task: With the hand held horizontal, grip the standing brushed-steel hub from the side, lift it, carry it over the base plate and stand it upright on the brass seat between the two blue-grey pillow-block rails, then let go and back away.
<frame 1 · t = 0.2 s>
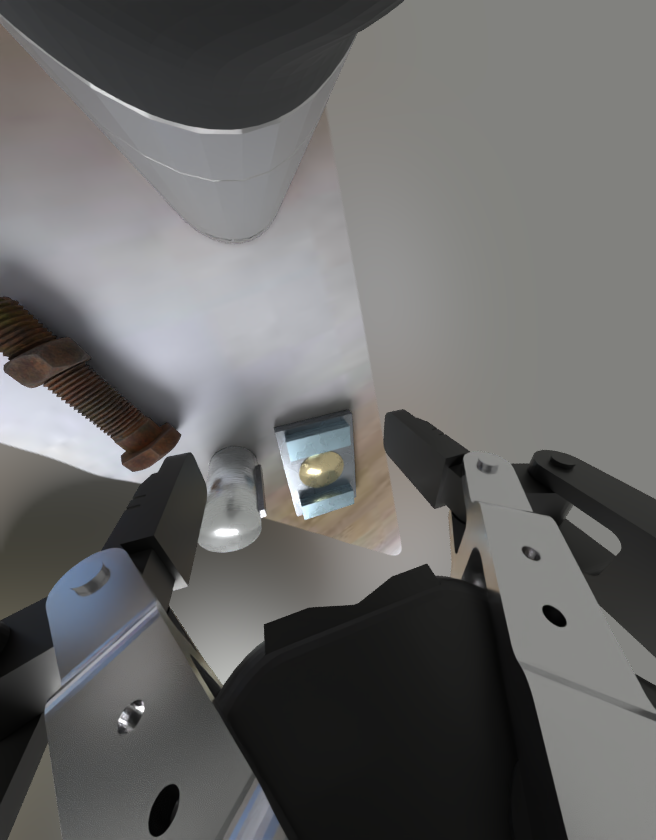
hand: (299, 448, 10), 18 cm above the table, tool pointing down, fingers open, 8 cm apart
bolt: (104, 382, 22), on the table
base plate: (319, 464, 34), on the table
hub: (234, 464, 30), on the table
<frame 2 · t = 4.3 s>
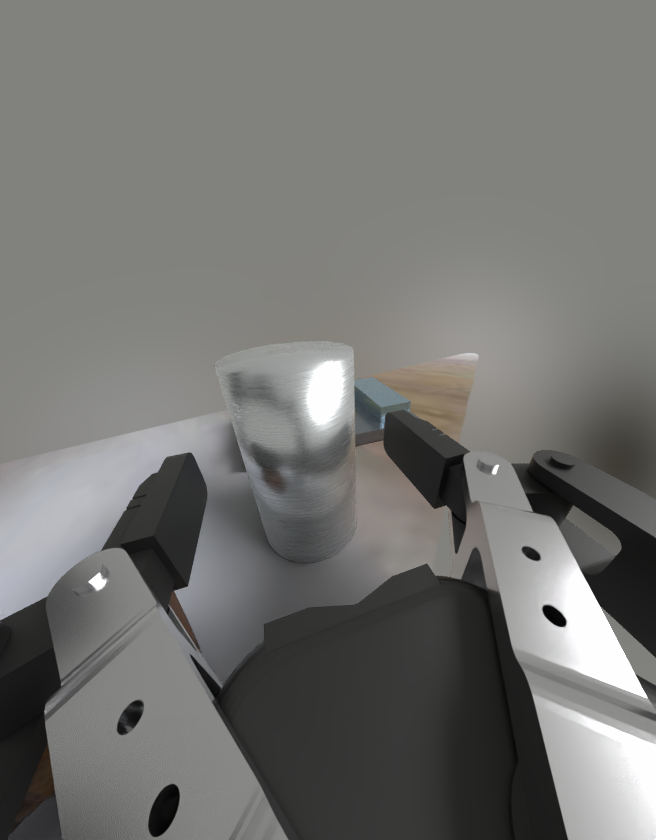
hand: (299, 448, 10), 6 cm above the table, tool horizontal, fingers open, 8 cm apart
base plate: (325, 423, 25), on the table
hub: (311, 517, 14), on the table
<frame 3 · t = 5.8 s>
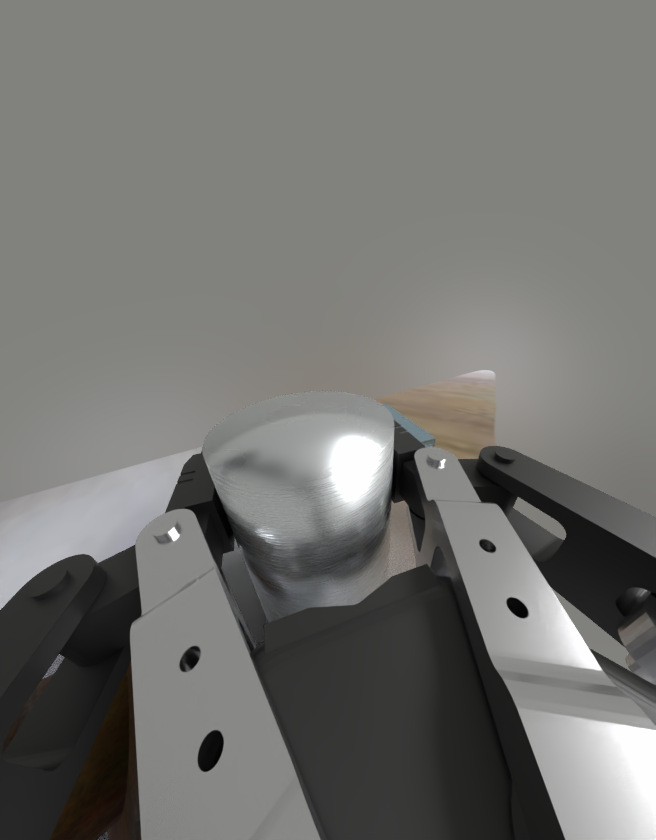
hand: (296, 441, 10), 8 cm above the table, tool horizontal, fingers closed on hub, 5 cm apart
base plate: (336, 459, 22), on the table
hub: (328, 601, 12), on the table, touching gripper
when the fingers open (9 cm above the table, at t = 10.4 s): hub stays where it is, resting on base plate.
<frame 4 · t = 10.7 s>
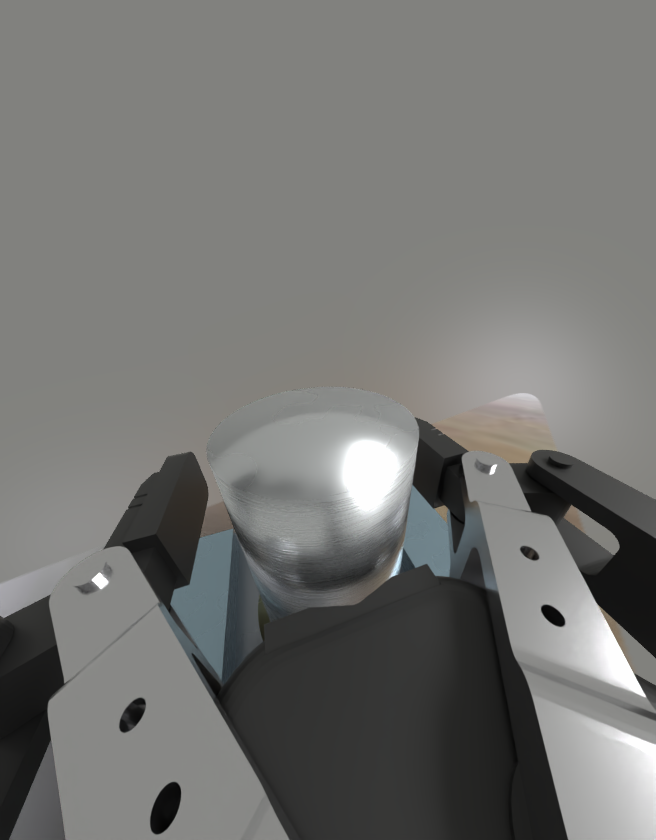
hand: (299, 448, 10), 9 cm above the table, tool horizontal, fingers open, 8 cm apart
base plate: (326, 602, 12), on the table
hub: (333, 602, 11), point 1 cm above the table, touching base plate
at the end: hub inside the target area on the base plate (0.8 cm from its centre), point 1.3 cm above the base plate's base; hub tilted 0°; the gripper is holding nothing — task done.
